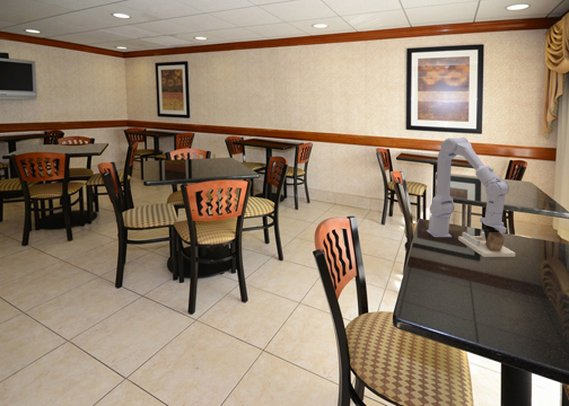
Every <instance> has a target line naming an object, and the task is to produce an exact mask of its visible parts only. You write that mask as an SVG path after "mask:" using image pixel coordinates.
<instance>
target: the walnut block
mask: <svg viewBox="0 0 569 406" xmlns="http://www.w3.org/2000/svg"><path fill="white" fill-rule="evenodd" d="M505 240H506V237H505V236H504V234H503V233H500V232H489V235H488V238H487V241H486V244H485V245H486V246H487V247H488V249H489V250H490V251H501V249H502V246H504V243H505Z"/></svg>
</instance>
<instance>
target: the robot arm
mask: <svg viewBox="0 0 569 406" xmlns="http://www.w3.org/2000/svg"><path fill="white" fill-rule="evenodd" d="M456 156H459V157H460V156H461V157H464V159H465V160H466V161H467V162H468V163H469V164H470V165H471V167H472V168H473V169H474V170H475V175H476V177H477V178H478V180H479V181H480V182H481V184H482V185H483V186H484V187H485V189H484V191H485V194H486V196H487V197H486V208H485V217H479V223H481V224H482V223H483V224H484V226H482V227H481V229H482V230H483V231H482V232H484V234H485V238H486V241H487V238H488V235H489V232H500V233H501V234H505V233H507V227H505V224H504V223H505V222H503V221H502V219H503V213H504V207H505V206H504V205H505V200H506V195H507V194H508V193H509V192H510V185H509V184H508V182H507V181H506V180H502V179H501V178H500V176H498V175H497V174H496V172H494V168H493V167H491V166H490V165H485V164H484V163H483V162H482V160H481V159H480V157H479V155H478V154H477V153H476V152H475V150H474V148H473V147H472V143H471V142H469V140H468V139H467V138H465V137H459V138H458V137H454V138H453V137H452V138H450V137H449V138H446V139H444V140H443V141H442V142H441V143H440V149H439V152H438V154H437V165H436V166H437V167H436V169H437V170H436V191H435V192H436V194H435V196H434V197H433V198H432V199H431V204H430V206H429V211H430V214H431V215H430V217H429V219H428V229H426V232H427V233H429V234H430V235H431V236H432V237H434V238H452V237H453V236H452V235H451V234H450V233H449V230H450V219H451V216H452V214H453V213H454V211H455V204H454V198H453V197H452V196H451V178H452V177H451V175H452V160H453V159H454V158H455V157H456Z"/></svg>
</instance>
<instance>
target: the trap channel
mask: <svg viewBox="0 0 569 406" xmlns="http://www.w3.org/2000/svg"><path fill="white" fill-rule="evenodd" d="M457 239H458V241H460V242H461V243H463V244H464V245H466V246H467V247H468V248H470V249H472V250H473V251H474V252H475V253H477V254H479V255H480V256H482V257H483V258H516V252H514V251H513V250H511V249H509V248H507V247H506V246H504V245H503V246H502V249H501V251H490V250H489V249H488V247H487V246H486V245H485V244H486V238H485V234H484V231H480V235H476V236H475V235H473V236H472V235H471V234H469V233H467V232H466V231H462V235H461V236H458V238H457Z"/></svg>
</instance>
